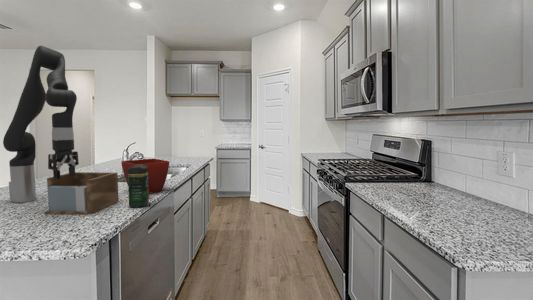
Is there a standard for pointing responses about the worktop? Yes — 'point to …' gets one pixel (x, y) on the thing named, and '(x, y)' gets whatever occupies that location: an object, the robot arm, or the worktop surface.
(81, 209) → the grey rectangular block
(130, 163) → the plant pot
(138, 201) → the coffee jar
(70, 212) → the open wooden box
